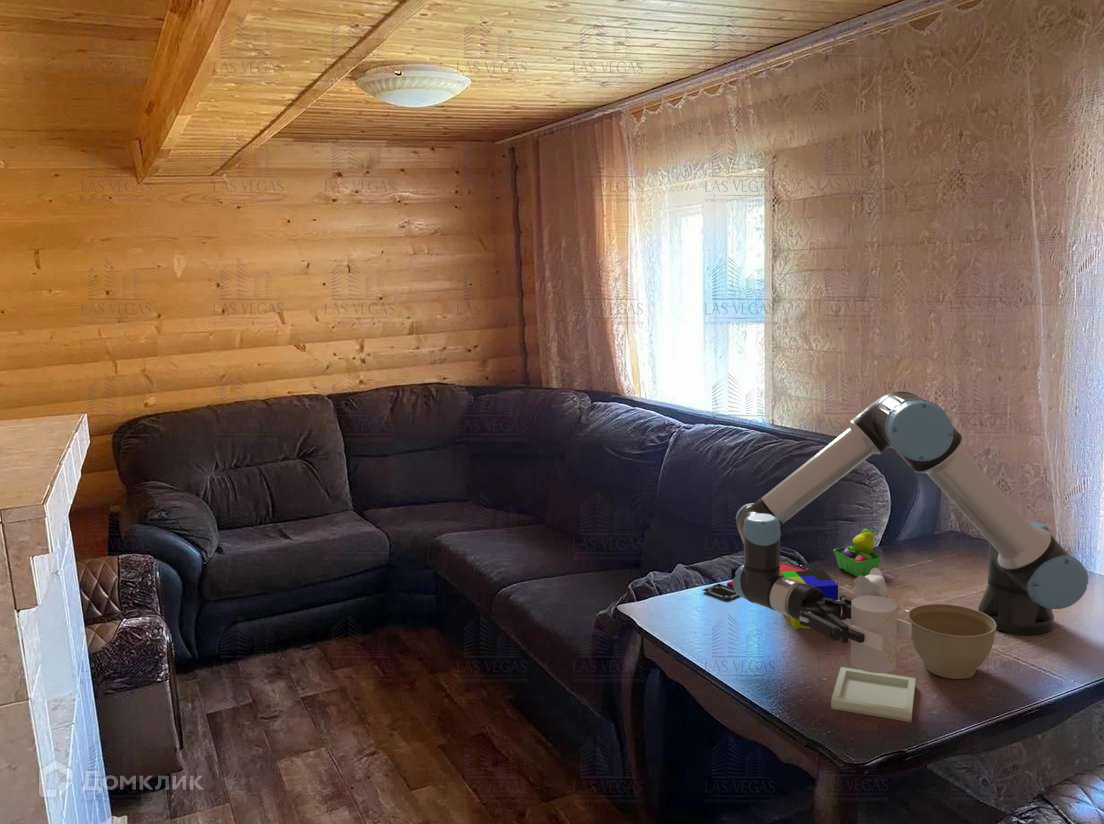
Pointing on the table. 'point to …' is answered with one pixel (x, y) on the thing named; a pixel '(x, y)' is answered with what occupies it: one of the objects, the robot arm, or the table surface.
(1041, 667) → the table surface
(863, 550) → the fruit basket
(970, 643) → the planter bowl
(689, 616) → the table surface
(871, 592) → the elephant figurine
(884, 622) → the white cylinder
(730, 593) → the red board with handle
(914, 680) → the tray
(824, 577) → the puzzle toy
